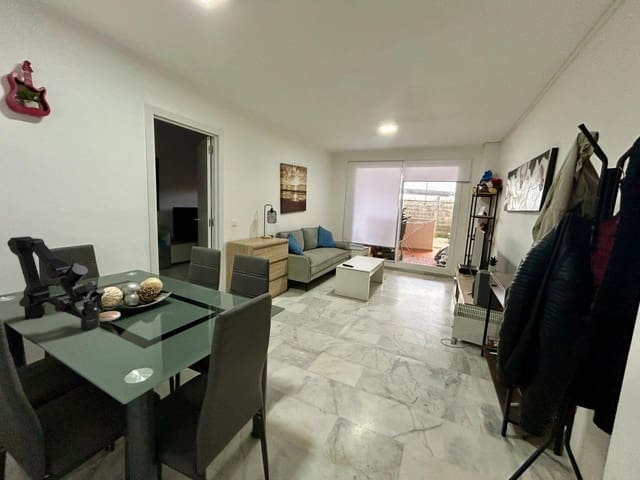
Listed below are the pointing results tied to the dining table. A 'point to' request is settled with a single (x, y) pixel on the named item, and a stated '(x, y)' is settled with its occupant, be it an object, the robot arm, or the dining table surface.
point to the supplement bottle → (90, 315)
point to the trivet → (109, 316)
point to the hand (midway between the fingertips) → (92, 313)
